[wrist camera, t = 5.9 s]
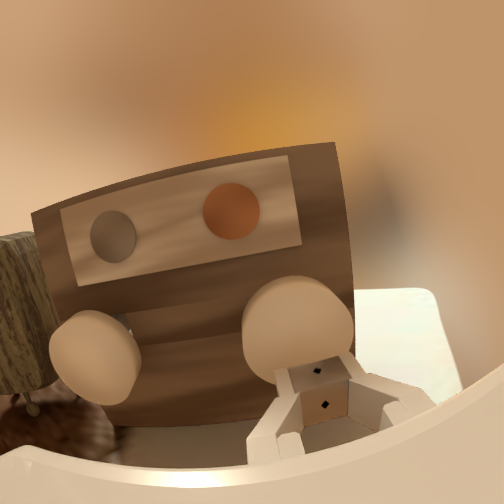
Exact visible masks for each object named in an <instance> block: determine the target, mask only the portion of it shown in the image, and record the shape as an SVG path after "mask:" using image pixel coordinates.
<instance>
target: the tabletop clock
mask: <svg viewBox="0 0 504 504" xmlns="http://www.w3.org/2000/svg"><path fill="white" fill-rule="evenodd" d="M61 325H62V324H61V322H60V319H59V317H58V314H57V311H56V308H55V305H54V303H53V300H52V297H51V294H50V291H49V287H48V284H47V281H46V277H45V274H44V270H43V267H42V263H41V259H40V255H39V251H38V247H37V242H36V238H35V233H34V232H31V231H30V232H29V231H27V232H19V233H14V234H10V235H5V236H0V395H9V394H17V393H23V395H24V397H25V399H26V401H27V405H26V410H27V412H28V414H29V415H30V416H33V417H36V416H38V415H39V413H40V409H39V407H38V405H37V404H36V403H34V402H32V401H31V399H30V396H29V393H28V392H30V391H34V390H38V389H42V388H45V387H48V386H50V385H51V384H52V383H54V382H55V381H56V380H57V379H58V378H59V375H58V374H57V372H56V371H55V369H54V367H53V364H52V362H51V359H50V354H49V342H50V339H51V336H52V335H53V333H54V332H55V331H56V330H57V329H58V328H59V327H60V326H61Z"/></svg>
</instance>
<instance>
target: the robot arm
mask: <svg viewBox="0 0 504 504" xmlns="http://www.w3.org/2000/svg"><path fill="white" fill-rule="evenodd" d="M273 371H274V378H275V383H276V389H277V395H278V397H277V398H275V399H274V401H273V402H272V404H271V405H270V406H269V408H268V409H267V411H266V412H265V414H264V415H263V417H262V418H261V419H260V421H259V422H258V424H257V425H256V426H255V428H254V429H253V431H252V432H251V433H250V435H249V436H248V437H247V439H246V445H247V460H248V464H247V465H238V466H228V467H214V468H185V469H178V468H149V467H135V466H125V465H117V464H109V463H103V462H97V461H91V460H85V459H80V458H76V457H71V456H67V455H63V454H59V453H55V452H51V451H48V450H44V449H41V448H38V447H35V446H31V445H24V446H21V447H19V448H16V449H14V450H12V451H10V452H7V453H5V454H3V455H1V456H0V504H504V363H503V364H502V365H500V366H499V367H498V368H496V369H495V370H493V371H492V372H491V373H489V374H488V375H486V376H485V377H483V378H482V379H480V380H479V381H477V382H476V383H474V384H473V385H471V386H470V387H468V388H466V389H465V390H463V391H461V392H460V393H458V394H456V395H455V396H453V397H451V398H450V399H448V400H446V401H444V402H442V403H440V404H439V405H437V406H436V405H435V404H434V403H433V401H432V400H431V399H430V398H429V397H428V396H427V395H426V393H425V392H424V391H423V390H422V389H421V388H417V387H414V386H410V385H407V384H404V383H400V382H397V381H394V380H391V379H387V378H384V377H381V376H378V375H375V374H372V373H368V374H366V372H365V371H364V370H363V368H362V367H361V365H360V364H359V363H358V361H357V360H356V359H355V357H354V356H353V354H352V353H351V352H347V353H343V354H340V355H337V356H335V357H331V358H327V359H324V360H320V361H316V362H311V363H306V364H301V365H296V366H291V367H287V368H282V369H276V370H273ZM346 415H348V416H349V417H350V418H352V419H354V420H355V421H357V422H359V423H361V424H362V425H364V426H366V427H367V428H369V429H371V430H373V431H374V432H376V433H374V434H371V435H369V436H366V437H363V438H360V439H357V440H354V441H351V442H348V443H345V444H342V445H338V446H335V447H331V448H328V449H324V450H320V451H317V452H313V453H308V454H305V450H304V447H303V444H302V440H301V437H300V436H301V433H302V431H303V429H304V427H305V426H309V425H313V424H316V423H320V422H323V421H327V420H331V419H335V418H339V417H342V416H346Z"/></svg>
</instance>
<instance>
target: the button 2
mask: <svg viewBox="0 0 504 504" xmlns="http://www.w3.org/2000/svg"><path fill="white" fill-rule="evenodd" d="M241 328H242V343H243V352H244V356H245V359H246V362H247V363H248V365H249V367H250V368H251V370H252V371H253V372H254V373H255V374H256V375H257V376H259V377H260V378H261V379H263V380H265V381H267V382H269V383H272V384H275V385H276V383H275V378H274V371H273V370H276V369H282V368H287V367H291V366H296V365H301V364H306V363H311V362H316V361H320V360H324V359H327V358H331V357H335V356H337V355H340V354H343V353H347V352H349V349H350V347H351V344H352V340H353V334H354V327H353V321H352V317H351V315H350V312H349V311H348V309H347V307H346V306H345V305H344V304H343V303H342V301H341V300H340V299H339V298H338V297H337V296H336V295H335V294H334V293H333V292H332V291H331V290H330V289H329V288H328V287H327V286H325V285H324V284H323V283H321V282H320V281H318V280H316V279H313V278H310V277H306V276H286V277H282V278H278V279H276V280H273V281H271V282H269V283H267V284H266V285H264V286H263V287H261V288H260V289H259V290H258V291H257V292H256V293H255V294H254V295H253V296H252V297H251V299H250V300H249V302H248V303H247V305H246V307H245V309H244V312H243V316H242V324H241Z"/></svg>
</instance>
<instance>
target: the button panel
mask: <svg viewBox="0 0 504 504" xmlns="http://www.w3.org/2000/svg"><path fill="white" fill-rule="evenodd" d="M31 217H32V223H33V228H34V233H35V238H36V242H37V247H38V251H39V255H40V259H41V263H42V267H43V270H44V274H45V277H46V281H47V284H48V287H49V291H50V294H51V297H52V300H53V303H54V305H55V308H56V311H57V314H58V317H59V319H60V322H61V324H62V325H63V324H64V323H65V322H66V321H67V320H68V319H70V318H71V317H72V316H73V315H74V314H76V313H78V312H80V311H84V310H95V311H99V312H102V313H105V314H107V315H109V316H111V317H113V318H114V317H115V316H116V315H117V314H124V313H125V315H126V318H127V321H128V324H129V326H130V330H129V332H130V333H131V335H132V336H133V338H134V339H135V341H136V343H137V345H138V347H139V350H140V353H141V361H142V364H141V369H140V372H139V374H138V376H137V379H136V381H135V383H134V385H133V387H132V389H131V391H130V394H129V396H128V397H127V398H126V399H125V400H124V401H123V402H121V403H119V404H116V405H101V407H102V408H103V410H104V412H105V413H106V415H107V417H108V418H109V420H110V421H111V423H112V425H113V426H131V427H172V426H192V425H206V424H216V423H226V422H234V421H241V420H248V419H255V418H261V417H263V415H264V414H265V412H266V411H267V409H268V408H269V406H270V405H271V404H272V402H273V401H274V399H275V398H277V397H278V395H277V389H276V385H275V384H272V383H269V382H267V381H265V380H263V379H261V378H260V377H259V376H257V375H256V374H255V373H254V372H253V371H252V370H251V368H250V367H249V365H248V363H247V362H246V359H245V356H244V352H243V343H242V328H241V324H242V316H243V312H244V309H245V307H246V305H247V303H248V302H249V300H250V299H251V297H252V296H253V295H254V294H255V293H256V292H257V291H258V290H259V289H260V288H261V287H263V286H264V285H266V284H267V283H269V282H271V281H273V280H276V279H278V278H282V277H286V276H306V277H310V278H313V279H316V280H318V281H320V282H321V283H323V284H324V285H325V286H327V287H328V288H329V289H330V290H331V291H332V292H333V293H334V294H335V295H336V296H337V297H338V298H339V299H340V300H341V301H342V303H343V304H344V305H345V306H346V307H347V309H348V311H349V312H350V315H351V317H352V321H353V327H354V334H353V340H352V344H351V347H350V349H349V352H351V353H352V354H353V356H354V357H355V309H354V289H353V274H352V261H351V251H350V240H349V231H348V222H347V215H346V207H345V199H344V193H343V186H342V180H341V174H340V168H339V162H338V157H337V152H336V146H335V142H329V143H318V144H308V145H299V146H291V147H283V148H276V149H269V150H262V151H255V152H249V153H243V154H237V155H232V156H226V157H222V158H216V159H212V160H206V161H201V162H196V163H192V164H187V165H183V166H179V167H174V168H170V169H166V170H162V171H158V172H154V173H151V174H146V175H143V176H139V177H135V178H132V179H128V180H125V181H121V182H118V183H115V184H111V185H108V186H105V187H102V188H99V189H96V190H92V191H90V192H87V193H84V194H81V195H78V196H75V197H72V198H69V199H66V200H64V201H61V202H58V203H56V204H53V205H51V206H48V207H46V208H43V209H40V210H38V211H35V212H33V213H31Z"/></svg>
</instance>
